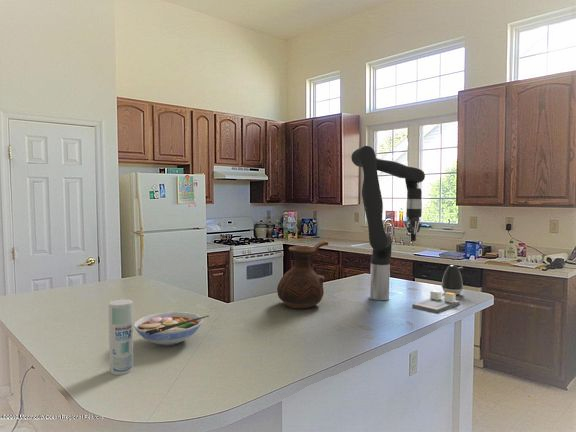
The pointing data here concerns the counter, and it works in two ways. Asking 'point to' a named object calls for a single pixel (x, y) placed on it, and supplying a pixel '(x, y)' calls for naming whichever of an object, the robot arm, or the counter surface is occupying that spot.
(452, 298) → the block
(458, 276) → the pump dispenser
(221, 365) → the counter surface
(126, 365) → the spray can
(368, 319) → the counter surface
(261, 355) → the counter surface
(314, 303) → the jug
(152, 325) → the ramen bowl
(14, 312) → the counter surface
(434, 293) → the on breaker
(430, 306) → the switch panel
